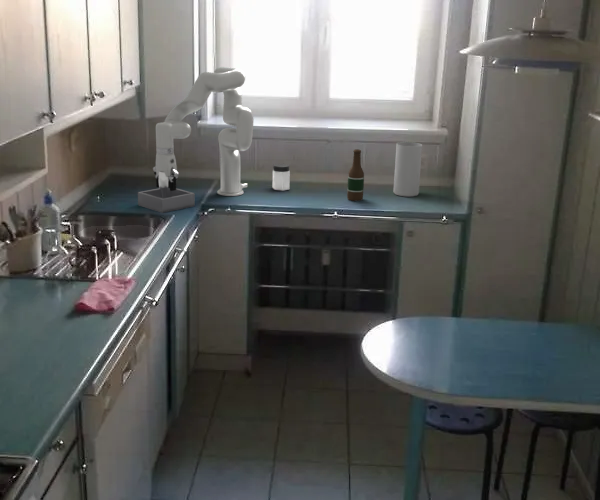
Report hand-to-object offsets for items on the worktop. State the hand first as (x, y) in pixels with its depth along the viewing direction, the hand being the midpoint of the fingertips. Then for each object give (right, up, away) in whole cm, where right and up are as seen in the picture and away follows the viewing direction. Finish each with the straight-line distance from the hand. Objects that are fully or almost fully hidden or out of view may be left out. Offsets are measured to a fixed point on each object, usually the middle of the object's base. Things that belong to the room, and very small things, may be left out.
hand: (166, 188), depth 342 cm
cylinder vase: (+113, 0, +37) cm, 119 cm away
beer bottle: (+87, -3, +24) cm, 90 cm away
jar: (+51, +3, +41) cm, 65 cm away
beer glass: (0, -7, +2) cm, 7 cm away
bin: (0, -8, +2) cm, 8 cm away
